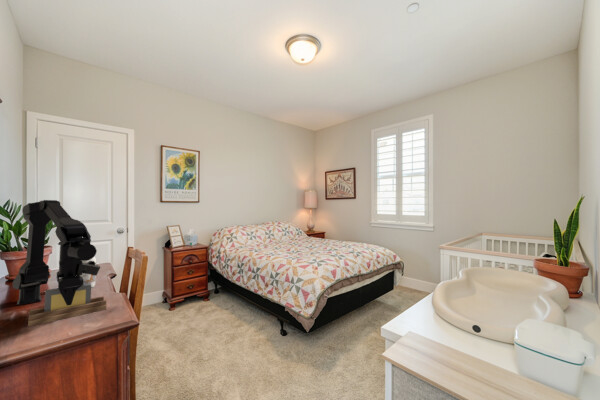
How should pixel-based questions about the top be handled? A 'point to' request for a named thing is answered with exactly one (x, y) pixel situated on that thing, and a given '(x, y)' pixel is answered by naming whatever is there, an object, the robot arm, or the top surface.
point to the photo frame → (57, 302)
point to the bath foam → (89, 275)
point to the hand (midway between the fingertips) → (68, 301)
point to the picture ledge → (65, 312)
